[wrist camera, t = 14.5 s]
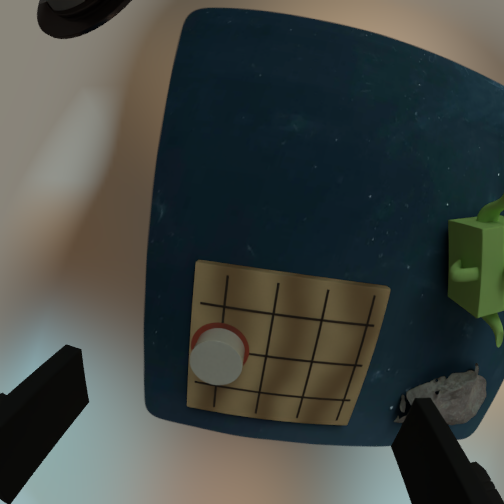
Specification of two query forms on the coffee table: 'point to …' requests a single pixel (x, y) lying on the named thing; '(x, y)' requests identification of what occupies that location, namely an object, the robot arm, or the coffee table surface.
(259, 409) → the board
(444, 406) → the stone
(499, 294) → the teapot
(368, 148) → the coffee table surface
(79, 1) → the robot arm
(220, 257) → the coffee table surface
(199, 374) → the gray cylinder
